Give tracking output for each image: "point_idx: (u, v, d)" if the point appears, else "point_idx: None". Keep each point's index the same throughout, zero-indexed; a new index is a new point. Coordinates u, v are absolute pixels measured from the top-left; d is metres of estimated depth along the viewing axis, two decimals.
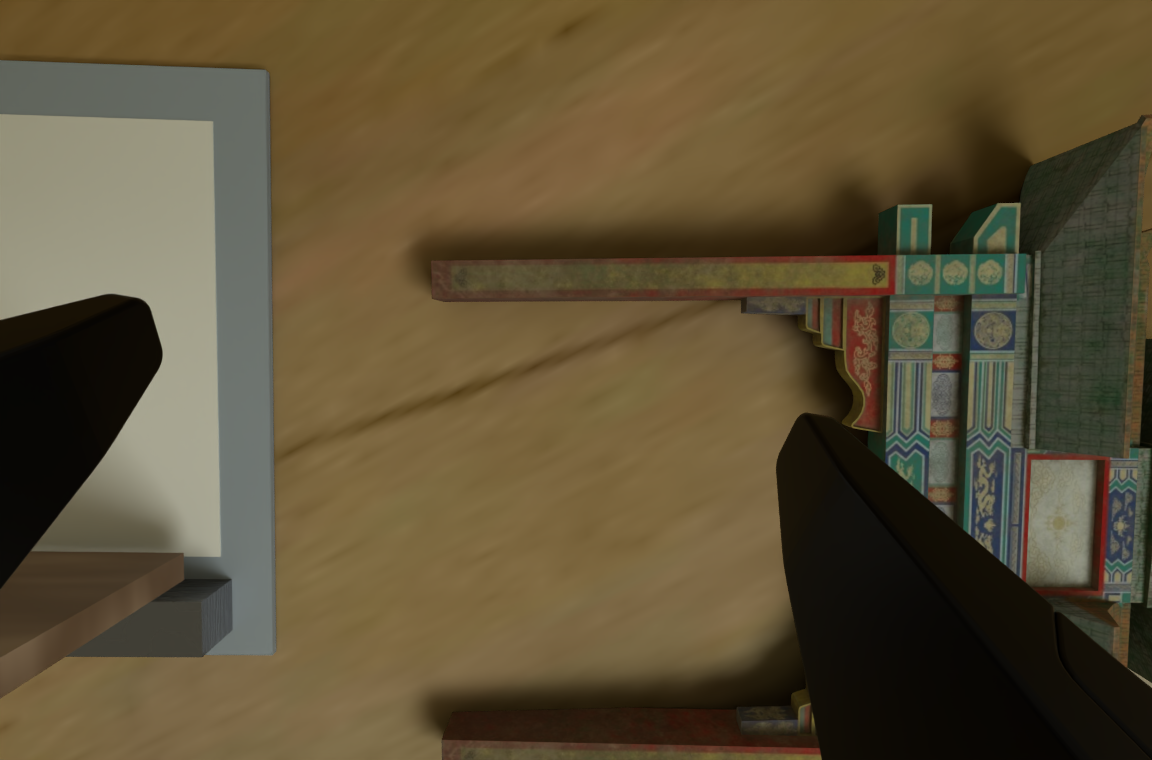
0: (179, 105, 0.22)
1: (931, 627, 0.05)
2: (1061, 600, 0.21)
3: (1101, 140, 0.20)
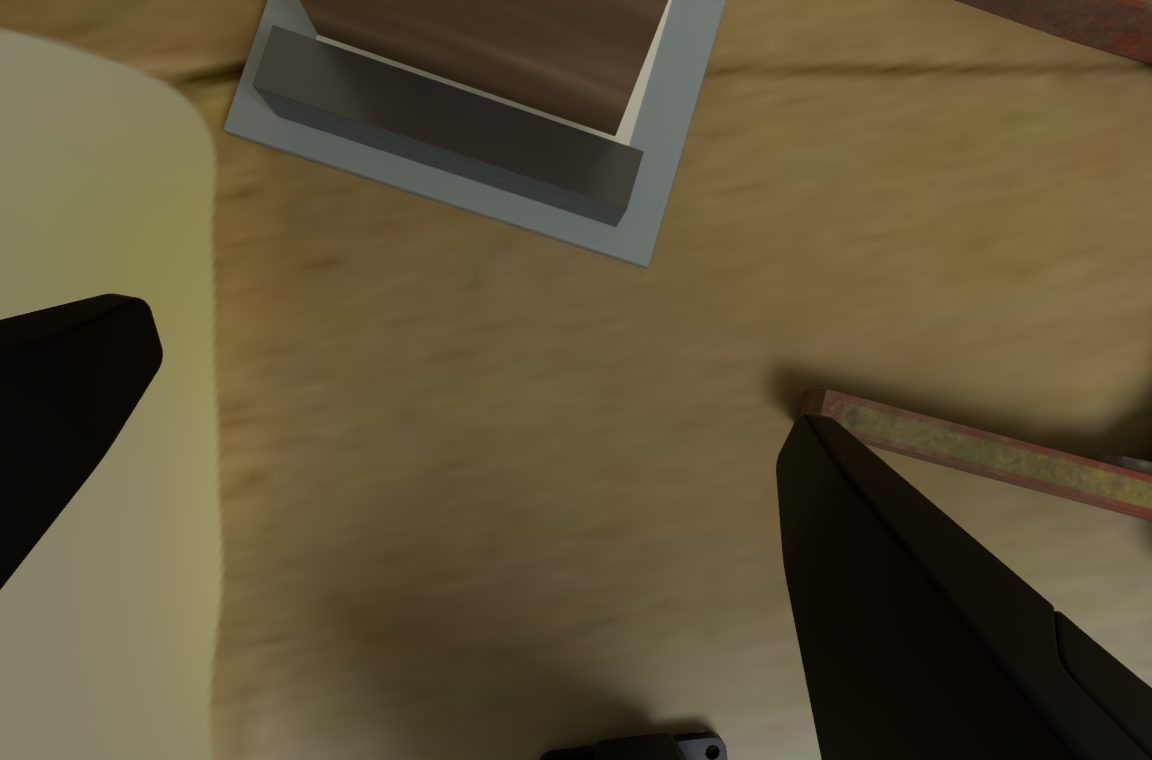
0: None
1: (931, 627, 0.05)
2: None
3: None
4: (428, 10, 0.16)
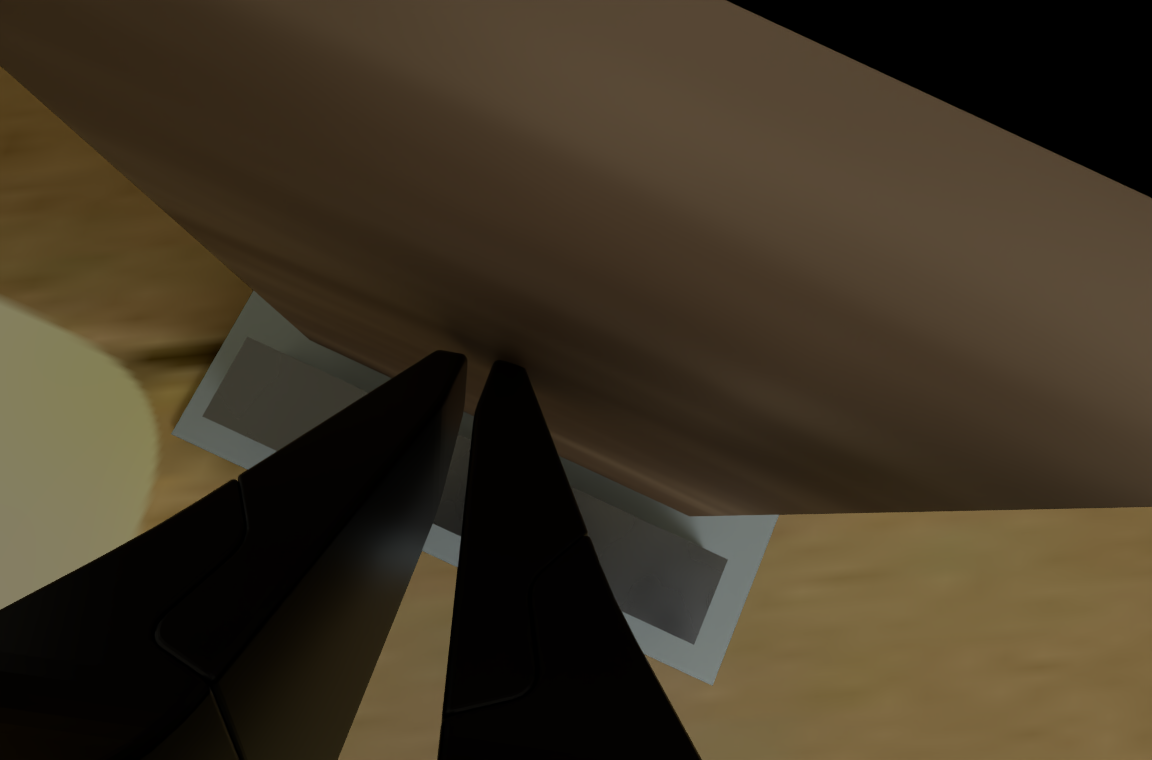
0: None
1: None
2: None
3: None
4: None
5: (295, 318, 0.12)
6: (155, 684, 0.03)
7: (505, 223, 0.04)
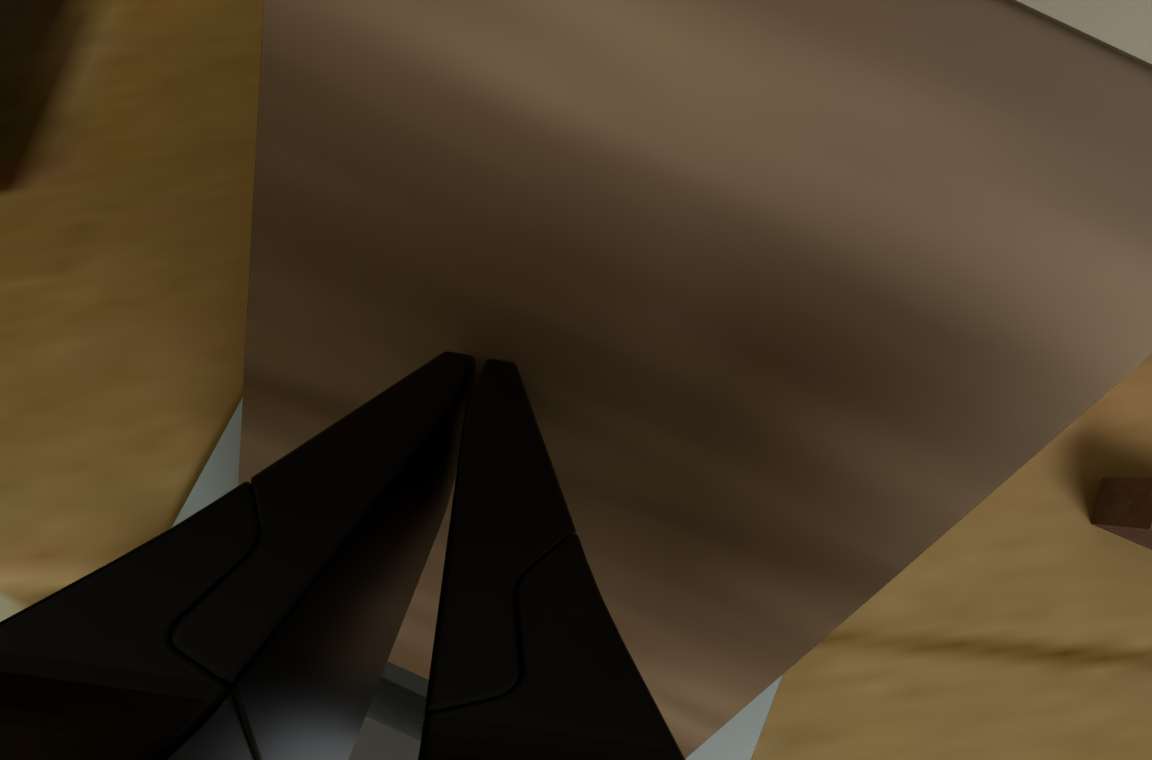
0: None
1: None
2: None
3: None
4: None
5: None
6: (174, 687, 0.03)
7: (675, 280, 0.07)
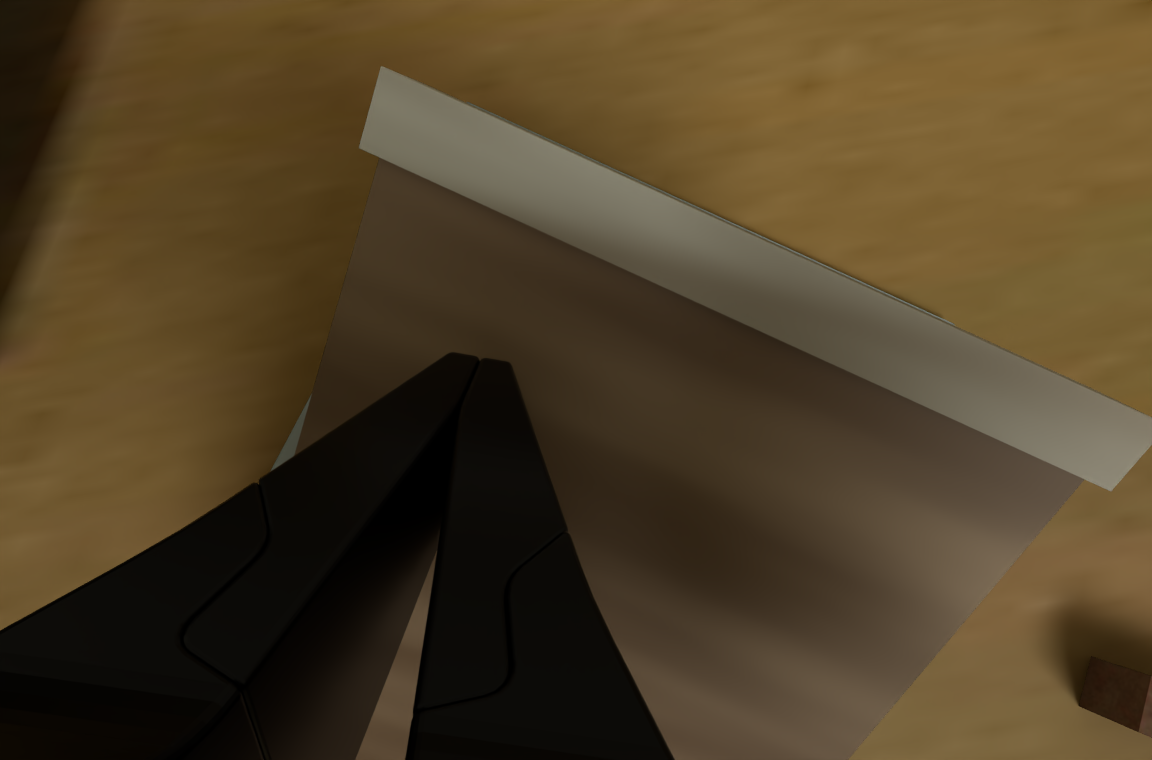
0: None
1: None
2: None
3: None
4: None
5: None
6: (188, 688, 0.03)
7: (639, 534, 0.09)
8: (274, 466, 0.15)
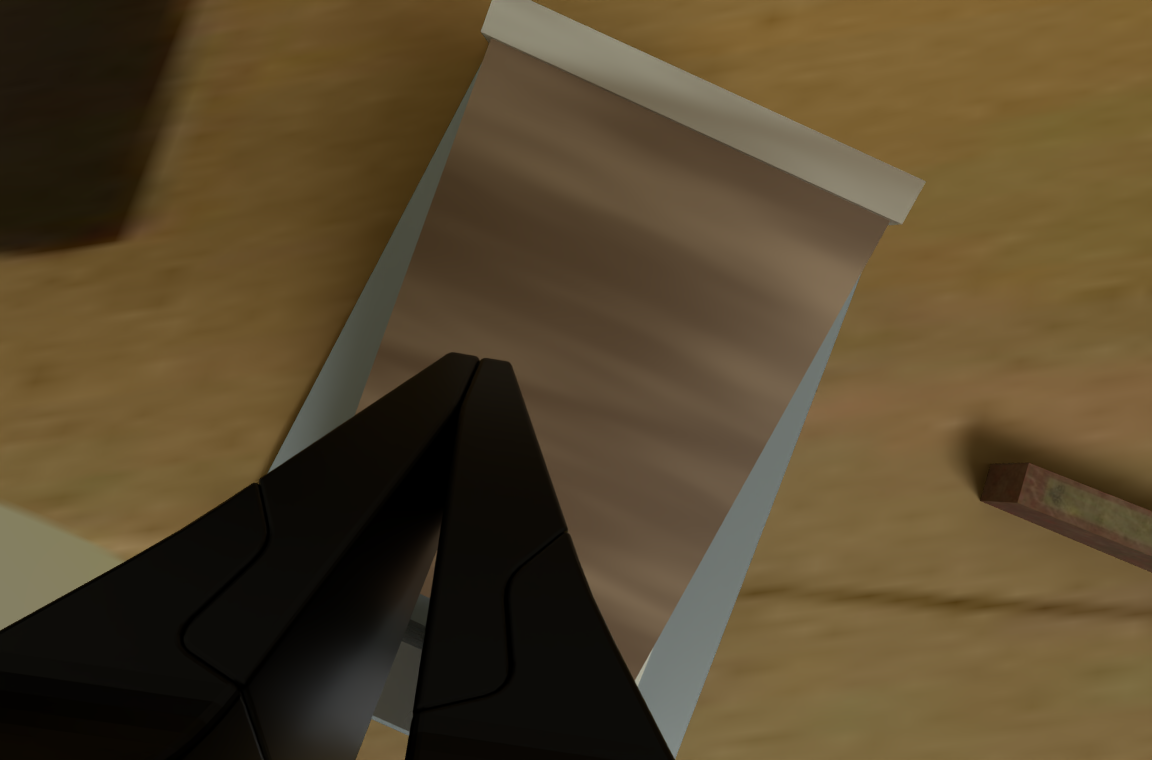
0: None
1: None
2: None
3: None
4: None
5: None
6: (189, 688, 0.03)
7: (637, 276, 0.15)
8: (354, 309, 0.20)
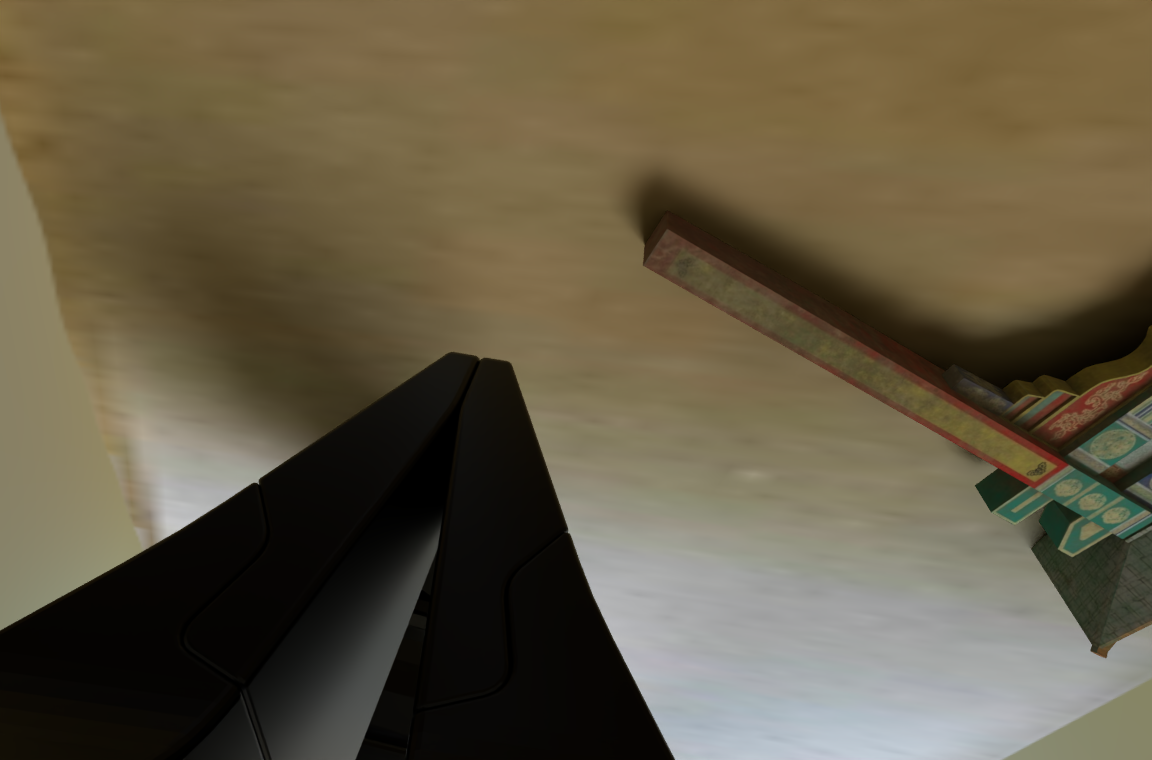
0: None
1: None
2: None
3: None
4: None
5: None
6: (188, 687, 0.03)
7: None
8: None
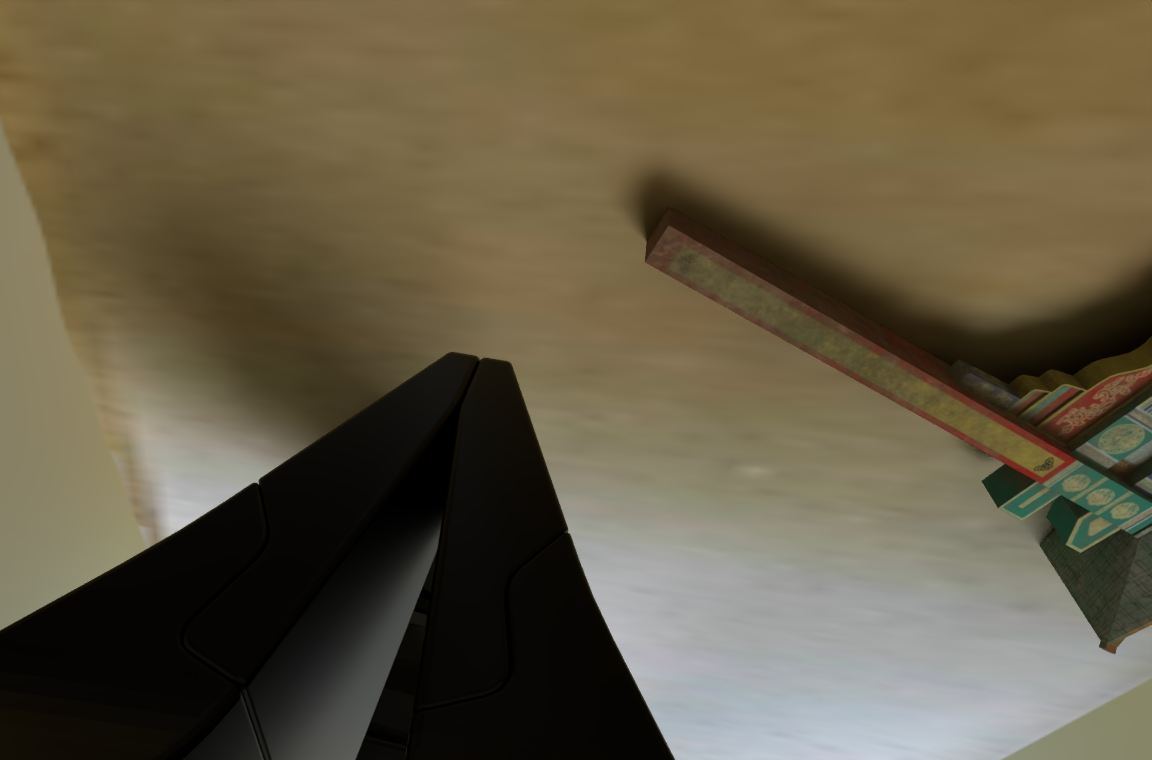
0: None
1: None
2: None
3: None
4: None
5: None
6: (188, 687, 0.03)
7: None
8: None
